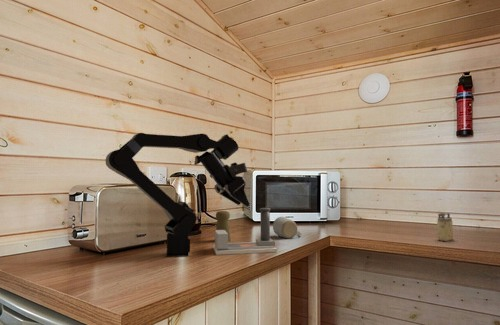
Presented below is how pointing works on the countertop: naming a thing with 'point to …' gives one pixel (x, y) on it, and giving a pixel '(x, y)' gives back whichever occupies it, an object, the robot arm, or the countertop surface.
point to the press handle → (265, 229)
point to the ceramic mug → (285, 228)
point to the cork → (223, 222)
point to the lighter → (444, 227)
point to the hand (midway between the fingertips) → (243, 205)
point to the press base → (237, 245)
